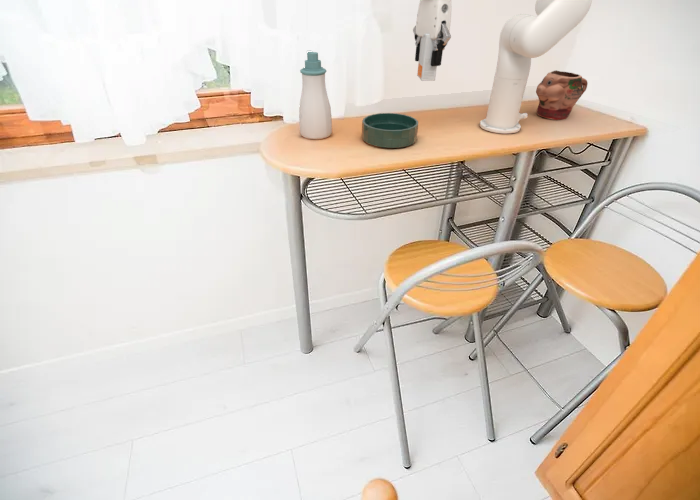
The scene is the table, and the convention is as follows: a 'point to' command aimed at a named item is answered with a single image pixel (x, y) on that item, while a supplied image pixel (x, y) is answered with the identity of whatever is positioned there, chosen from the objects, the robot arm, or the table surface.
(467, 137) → the table surface
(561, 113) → the decorative planter
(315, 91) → the soap bottle
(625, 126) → the table surface
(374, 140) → the bowl
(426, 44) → the cosmetic box
